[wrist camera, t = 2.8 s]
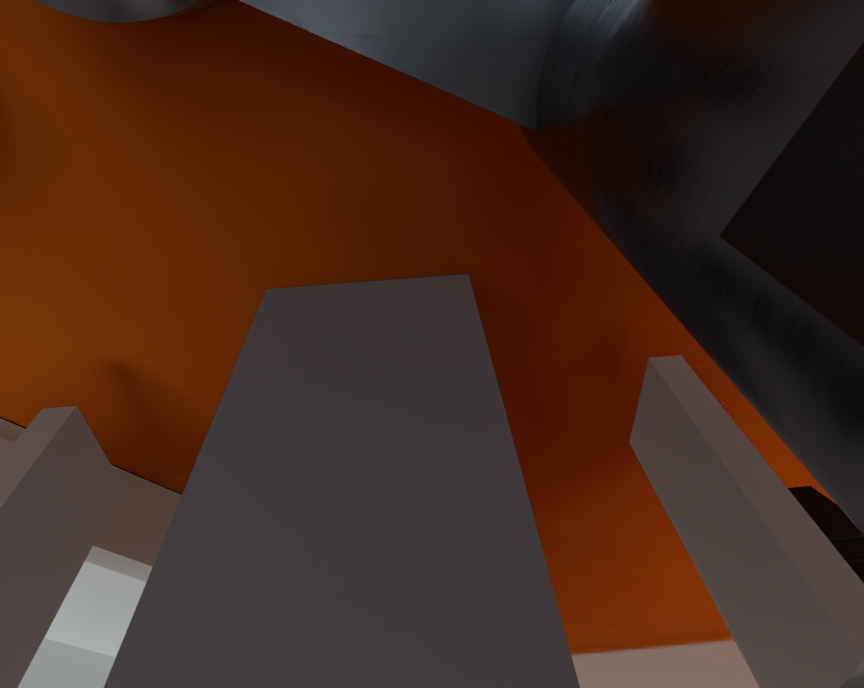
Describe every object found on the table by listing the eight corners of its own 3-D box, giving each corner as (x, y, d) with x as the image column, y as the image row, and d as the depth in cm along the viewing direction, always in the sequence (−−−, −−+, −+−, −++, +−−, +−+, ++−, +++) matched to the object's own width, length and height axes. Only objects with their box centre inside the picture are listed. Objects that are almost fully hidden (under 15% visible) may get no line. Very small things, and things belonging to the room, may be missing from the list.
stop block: (265, 289, 13) (41, 838, 5) (468, 273, 13) (605, 781, 5) (304, 435, 16) (210, 934, 7) (470, 421, 16) (556, 897, 8)
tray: (-83, 383, 14) (-167, 453, 12) (275, 534, 18) (261, 604, 16) (-174, 574, 18) (-247, 651, 16) (136, 658, 22) (110, 726, 20)
